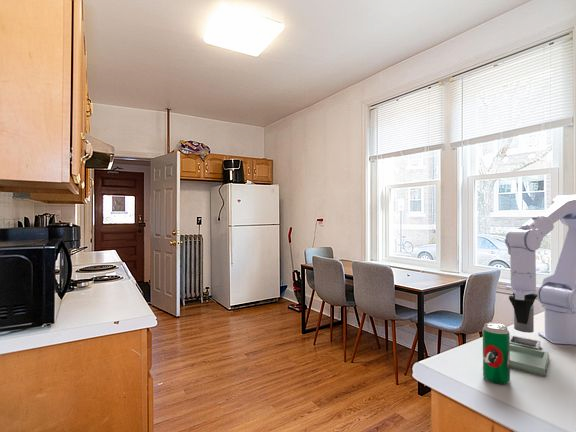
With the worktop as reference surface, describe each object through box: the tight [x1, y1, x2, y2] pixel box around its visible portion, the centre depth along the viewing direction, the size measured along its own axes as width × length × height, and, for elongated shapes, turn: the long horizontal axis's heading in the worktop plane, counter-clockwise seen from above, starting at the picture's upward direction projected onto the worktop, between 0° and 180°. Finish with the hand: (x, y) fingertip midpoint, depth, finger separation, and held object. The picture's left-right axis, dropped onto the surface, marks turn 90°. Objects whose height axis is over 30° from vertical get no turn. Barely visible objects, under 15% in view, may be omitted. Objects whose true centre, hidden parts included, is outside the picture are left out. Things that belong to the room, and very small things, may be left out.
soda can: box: [482, 322, 511, 385], centre depth 72 cm, size 5×5×12 cm
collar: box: [510, 335, 541, 350], centre depth 90 cm, size 7×7×2 cm
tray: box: [510, 344, 550, 378], centre depth 81 cm, size 12×12×2 cm
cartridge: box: [513, 304, 535, 334], centre depth 90 cm, size 4×4×7 cm
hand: (523, 321), depth 90 cm, fingers closed on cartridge, 4 cm apart
